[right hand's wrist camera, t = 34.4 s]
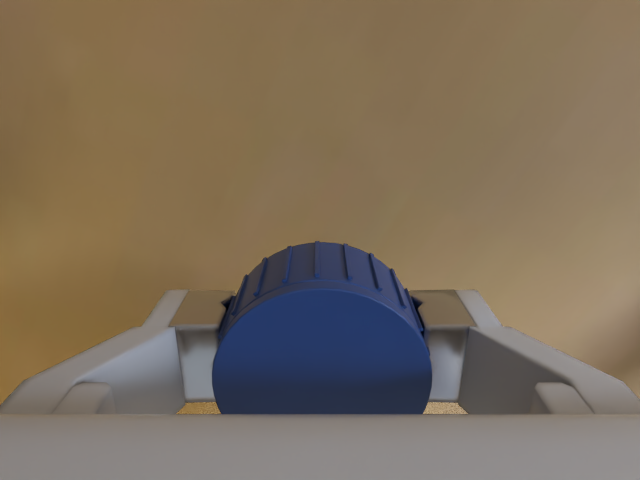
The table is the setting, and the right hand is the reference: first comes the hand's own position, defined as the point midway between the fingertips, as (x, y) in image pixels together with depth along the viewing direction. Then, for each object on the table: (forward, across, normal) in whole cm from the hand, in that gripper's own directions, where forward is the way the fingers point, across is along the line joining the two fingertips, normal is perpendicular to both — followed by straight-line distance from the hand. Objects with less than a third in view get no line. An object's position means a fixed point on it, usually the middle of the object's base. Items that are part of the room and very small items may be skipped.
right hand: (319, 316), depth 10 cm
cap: (-2, 0, 0) cm, 2 cm away
